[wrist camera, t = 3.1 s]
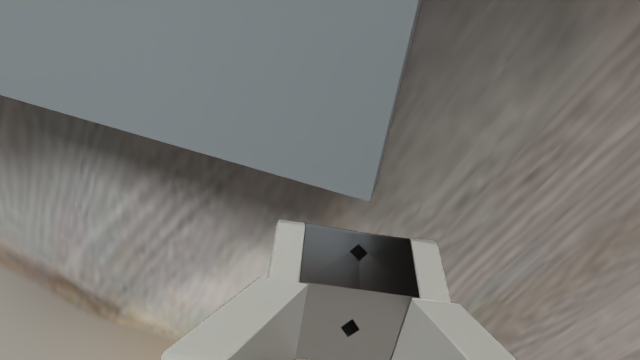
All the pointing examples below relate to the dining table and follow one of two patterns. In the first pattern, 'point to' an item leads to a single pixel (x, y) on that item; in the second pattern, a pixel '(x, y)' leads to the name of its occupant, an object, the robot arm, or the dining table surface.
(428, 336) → the robot arm
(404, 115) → the dining table surface
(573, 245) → the dining table surface
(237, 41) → the tilted grey plate
